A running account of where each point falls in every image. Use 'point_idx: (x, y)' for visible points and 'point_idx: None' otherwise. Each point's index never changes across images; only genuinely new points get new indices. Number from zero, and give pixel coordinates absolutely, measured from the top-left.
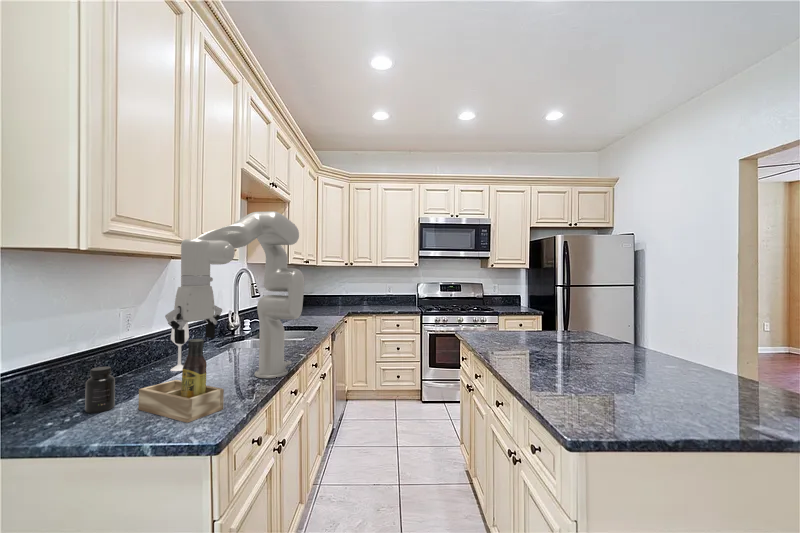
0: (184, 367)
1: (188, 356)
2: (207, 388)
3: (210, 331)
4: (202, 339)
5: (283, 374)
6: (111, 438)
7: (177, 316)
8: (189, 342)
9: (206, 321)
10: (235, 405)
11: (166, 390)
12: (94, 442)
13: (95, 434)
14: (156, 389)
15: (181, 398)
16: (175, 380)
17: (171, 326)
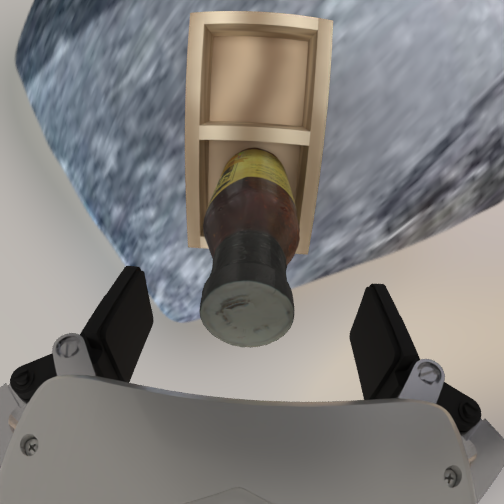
0: (205, 224)
1: (213, 253)
2: (302, 198)
3: (363, 354)
4: (283, 329)
5: None
6: (83, 162)
7: (61, 410)
8: (201, 305)
9: (405, 384)
10: (333, 233)
11: (282, 32)
12: (64, 155)
13: (77, 115)
14: (244, 27)
15: (188, 220)
16: (323, 26)
17: (43, 359)
